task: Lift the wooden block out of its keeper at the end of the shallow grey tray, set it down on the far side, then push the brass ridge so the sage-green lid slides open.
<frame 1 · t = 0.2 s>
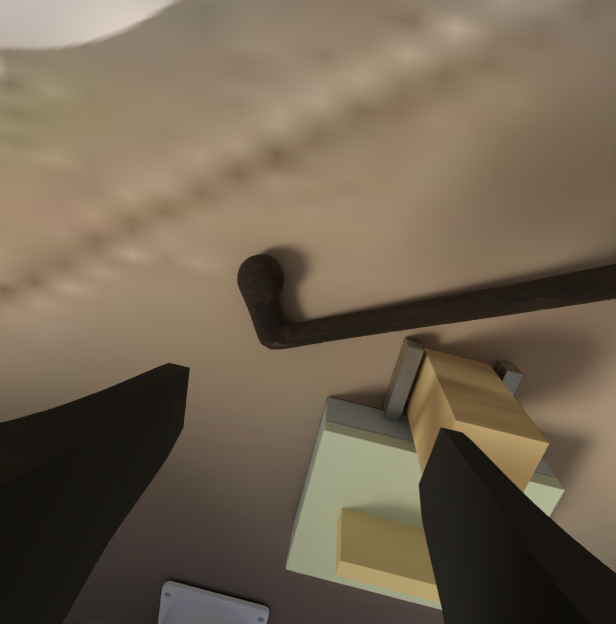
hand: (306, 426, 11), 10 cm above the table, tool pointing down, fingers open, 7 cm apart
shallow grey tray: (404, 489, 23), on the table
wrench: (546, 239, 18), on the table
lid: (415, 552, 19), point 4 cm above the table, slide at 0.0 cm
wooden block: (445, 384, 21), on the table
keeper: (445, 384, 21), on the table
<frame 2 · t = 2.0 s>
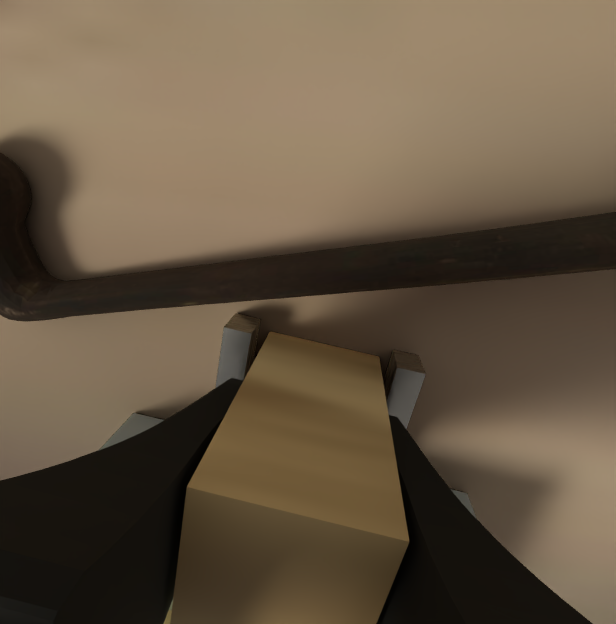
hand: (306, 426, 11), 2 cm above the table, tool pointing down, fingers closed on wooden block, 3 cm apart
shallow grey tray: (273, 553, 15), on the table
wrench: (482, 168, 10), on the table
wooden block: (312, 391, 13), on the table, touching gripper
keeper: (312, 391, 13), on the table
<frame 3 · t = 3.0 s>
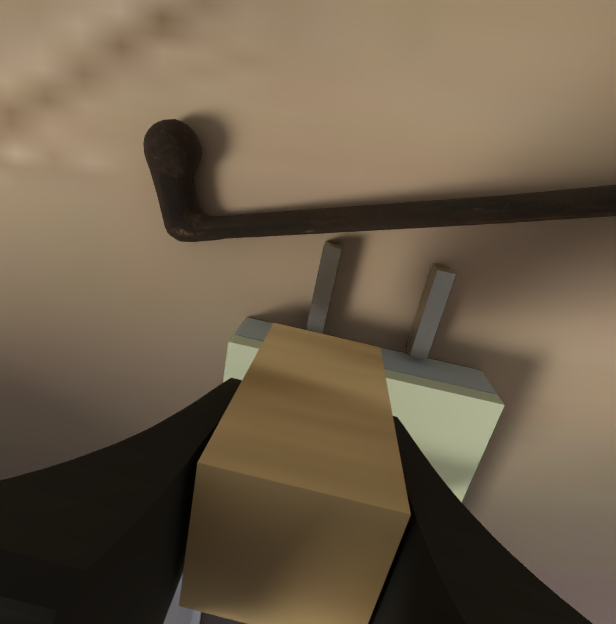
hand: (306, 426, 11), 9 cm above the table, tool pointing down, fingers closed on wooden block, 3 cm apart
shallow grey tray: (340, 424, 21), on the table
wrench: (499, 158, 16), on the table
lid: (337, 482, 17), point 4 cm above the table, slide at 0.0 cm
wooden block: (315, 381, 13), point 6 cm above the table, touching gripper
keeper: (375, 297, 18), on the table
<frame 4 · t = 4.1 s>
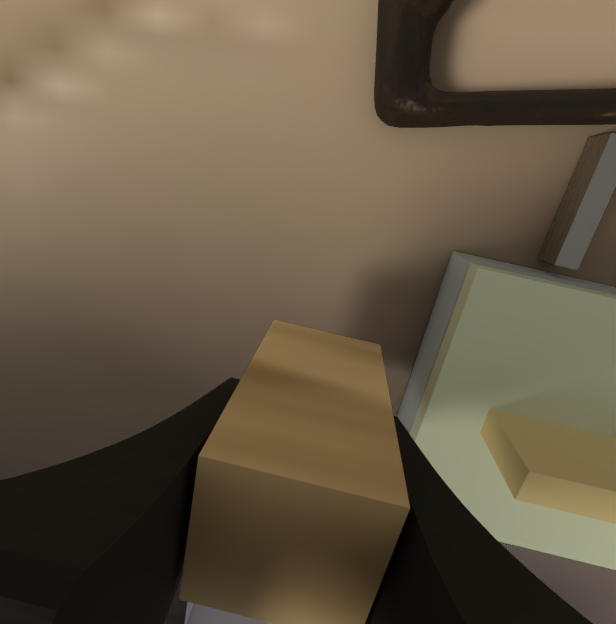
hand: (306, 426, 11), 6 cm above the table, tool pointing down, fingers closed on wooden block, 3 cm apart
shallow grey tray: (554, 398, 16), on the table
wooden block: (315, 378, 13), point 3 cm above the table, touching gripper
when the fingers open (3 cm above the table, at t = 5.0 s): wooden block stays where it is, on the table.
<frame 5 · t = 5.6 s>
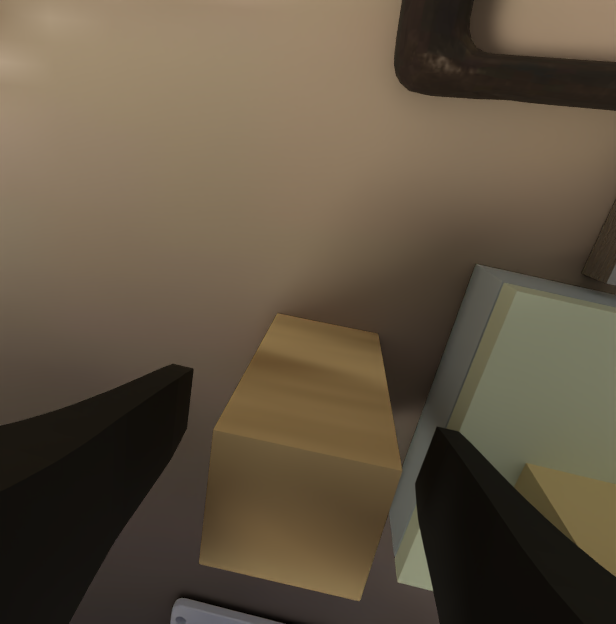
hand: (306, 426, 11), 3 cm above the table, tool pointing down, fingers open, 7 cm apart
shallow grey tray: (595, 439, 13), on the table
wooden block: (318, 368, 14), on the table
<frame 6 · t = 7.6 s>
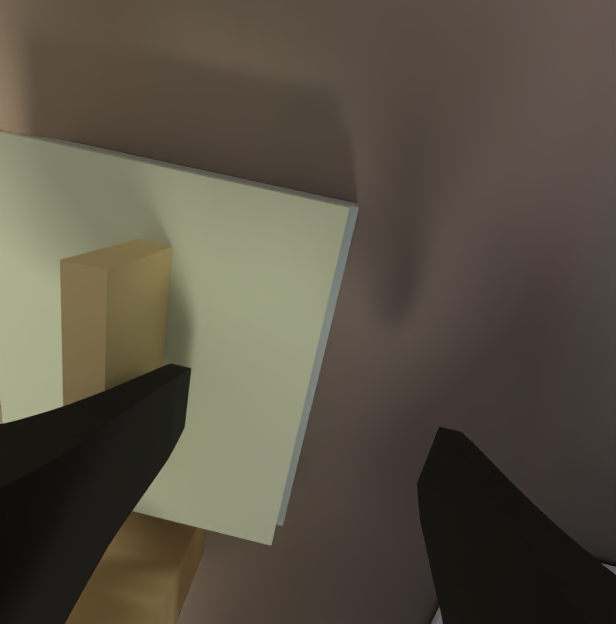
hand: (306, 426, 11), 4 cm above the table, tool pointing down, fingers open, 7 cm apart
shallow grey tray: (193, 333, 15), on the table
lid: (127, 386, 11), point 4 cm above the table, slide at 0.3 cm, touching gripper
wooden block: (169, 520, 18), on the table
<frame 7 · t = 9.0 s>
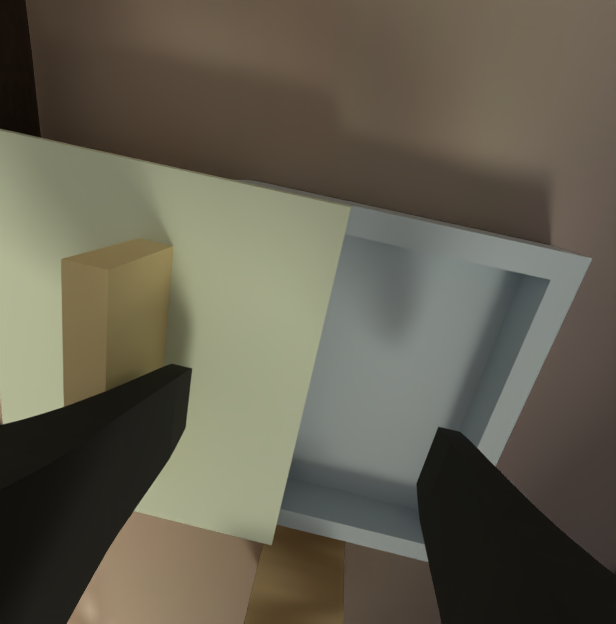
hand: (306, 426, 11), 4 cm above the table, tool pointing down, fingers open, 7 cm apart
shallow grey tray: (356, 370, 15), on the table
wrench: (5, 138, 14), on the table
lid: (128, 386, 11), point 4 cm above the table, slide at 6.7 cm, touching gripper
wooden block: (300, 553, 18), on the table
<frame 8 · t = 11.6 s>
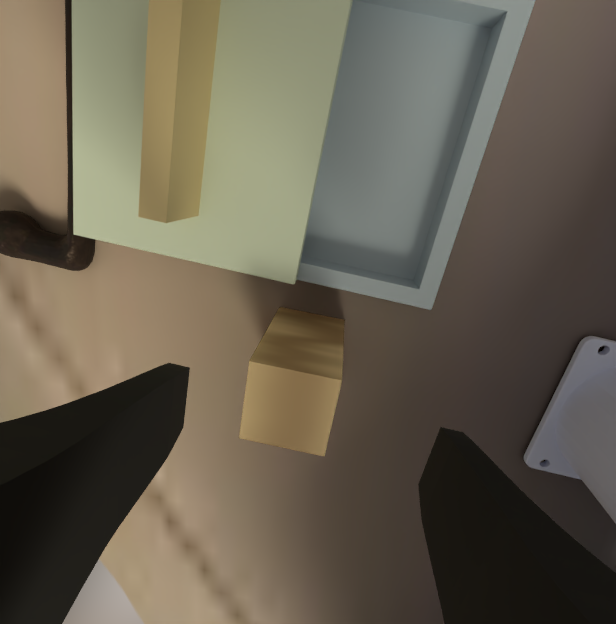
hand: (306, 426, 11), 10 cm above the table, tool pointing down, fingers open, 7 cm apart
shallow grey tray: (354, 148, 17), on the table
lid: (185, 102, 14), point 4 cm above the table, slide at 6.2 cm
wooden block: (306, 342, 21), on the table
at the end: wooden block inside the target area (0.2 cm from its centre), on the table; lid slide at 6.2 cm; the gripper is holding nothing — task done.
